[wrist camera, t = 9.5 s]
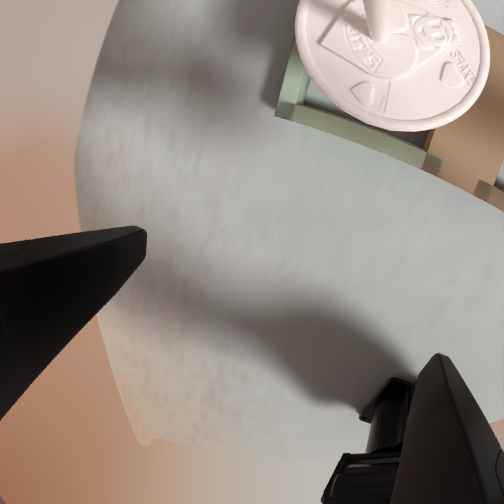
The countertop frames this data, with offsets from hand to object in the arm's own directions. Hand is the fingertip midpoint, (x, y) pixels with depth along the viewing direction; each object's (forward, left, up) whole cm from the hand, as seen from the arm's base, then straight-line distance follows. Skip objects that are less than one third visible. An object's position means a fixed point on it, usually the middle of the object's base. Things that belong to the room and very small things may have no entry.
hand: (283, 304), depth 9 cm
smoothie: (+8, 0, -13) cm, 15 cm away
